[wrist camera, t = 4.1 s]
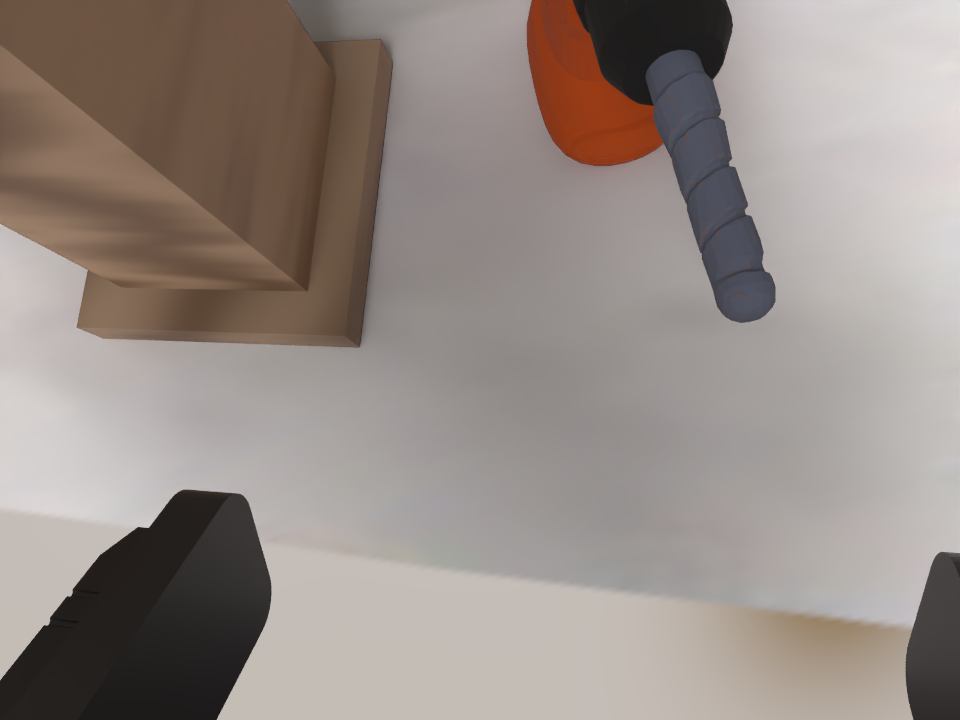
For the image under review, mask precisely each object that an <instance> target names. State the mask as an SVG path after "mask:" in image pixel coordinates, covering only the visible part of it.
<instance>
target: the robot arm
mask: <svg viewBox="0 0 960 720" xmlns="http://www.w3.org/2000/svg"><path fill="white" fill-rule="evenodd" d="M270 603H271V580H270V576H269V572H268V569H267V565H266V562H265V558H264V555H263V551H262V548H261V544H260V541H259V537H258V534H257V530H256V527H255V523H254V520H253V516H252V513H251V509H250V506H249V503H248V501H247V500H246V498H245V497H244V496H243V495H241V494H235V493H222V492H210V491H197V490H182V491H180V492H178V493H177V494H175V495H174V496H173V497H172V499H171V500H170V501H169V502H168V504H167V505H166V506H165V508H164V509H163V510H162V512H161V513H160V514H159V515H158V517H157V518H156V519H155V521H154V522H153V523H152V525H151V526H150V527H149V528H142V527H138V528H136V529H135V530H134V531H132V532H131V533H129V534H128V535H127V536H125V537H124V538H123V539H121V540H120V541H119V542H117V543H116V544H115V545H113V546H112V547H110V548H109V549H108V550H107V551H105V552H104V553H103V554H101V555H100V556H99V557H98V558H97V560H96V561H95V562H94V563H93V565H92V566H91V567H90V568H89V570H88V571H87V572H86V574H85V575H84V576H83V577H82V579H81V580H80V581H79V582H78V584H77V585H76V586H75V587H74V588H73V594H72V596H71V597H68V596H67V597H66V598H65V600H64V601H63V602H62V603H61V605H60V606H59V607H58V609H57V610H56V611H55V612H54V614H53V615H52V616H51V617H50V623H49V625H48V626H45V625H44V626H43V627H42V629H41V630H40V631H39V632H38V634H37V635H36V636H35V638H34V639H33V640H32V641H31V643H30V644H29V645H28V646H27V647H26V649H25V650H24V651H23V652H22V654H21V655H20V656H19V657H18V659H17V660H16V661H15V662H14V664H13V665H12V666H11V668H10V669H9V670H8V671H7V672H6V674H5V675H4V676H3V678H2V679H1V680H0V720H217V718H218V715H219V714H220V712H221V710H222V708H223V706H224V704H225V702H226V700H227V698H228V696H229V694H230V692H231V691H232V689H233V687H234V685H235V683H236V681H237V679H238V677H239V675H240V673H241V671H242V669H243V667H244V665H245V663H246V661H247V660H248V658H249V656H250V654H251V652H252V650H253V648H254V646H255V644H256V642H257V640H258V638H259V636H260V634H261V632H262V630H263V628H264V626H265V623H266V620H267V617H268V613H269V609H270ZM906 685H907V693H908V699H909V704H910V708H911V712H912V716H913V719H914V720H960V553H949V552H940V553H938V554H937V556H936V557H935V559H934V560H933V563H932V566H931V569H930V572H929V576H928V579H927V582H926V586H925V589H924V593H923V596H922V599H921V603H920V606H919V610H918V613H917V616H916V620H915V623H914V627H913V630H912V633H911V637H910V640H909V644H908V648H907V655H906Z"/></svg>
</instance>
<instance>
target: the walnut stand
mask: <svg viewBox="0 0 960 720" xmlns="http://www.w3.org/2000/svg"><path fill="white" fill-rule="evenodd" d="M392 67H393V63H392V61H391V59H390V57H389V55H388V53H387V51H386V49H385V47H384V45H383V43H382V41H381V39H374V40H351V41H329V42H313V41H312V39H311V38H310V36H309V35H308V33H307V31H306V30H305V28H304V27H303V25H302V24H301V22H300V20H299V19H298V17H297V16H296V14H295V13H294V11H293V9H292V8H291V6H290V5H289V3H288V2H287V0H0V224H2V225H4V226H5V227H7V228H9V229H11V230H13V231H15V232H17V233H19V234H21V235H23V236H24V237H26V238H28V239H30V240H32V241H34V242H36V243H38V244H40V245H42V246H44V247H45V248H47V249H49V250H51V251H53V252H55V253H57V254H59V255H61V256H63V257H65V258H66V259H68V260H70V261H72V262H74V263H76V264H78V265H80V266H82V267H84V268H85V269H87V270H88V272H87V277H86V282H85V288H84V293H83V298H82V303H81V308H80V313H79V318H78V323H77V328H79V329H82V330H84V331H87V332H89V333H91V334H94V335H96V336H99V337H101V338H108V339H136V340H165V341H194V342H222V343H251V344H280V345H308V346H337V347H360V339H361V331H362V322H363V314H364V305H365V297H366V288H367V279H368V271H369V262H370V254H371V245H372V237H373V228H374V220H375V211H376V203H377V194H378V186H379V177H380V169H381V160H382V152H383V143H384V135H385V126H386V118H387V109H388V101H389V92H390V84H391V75H392Z"/></svg>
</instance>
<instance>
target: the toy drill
mask: <svg viewBox="0 0 960 720" xmlns="http://www.w3.org/2000/svg"><path fill="white" fill-rule="evenodd" d="M732 27H733V24H732V16H731V13H730V10H729V7H728V5H727V2H726V0H532V2H531V7H530V12H529V17H528V22H527V47H528V55H529V63H530V68H531V73H532V78H533V83H534V88H535V92H536V96H537V100H538V104H539V107H540V110H541V113H542V116H543V119H544V122H545V125H546V127H547V129H548V131H549V133H550V135H551V137H552V140H553V141H554V142H555V143H556V145H557V146H558V147H559V148H560V149H561V150H562V151H563V152H564V153H565V154H566V155H567V156H568V157H570V158H572V159H574V160H576V161H578V162H580V163H583V164H588V165H593V166H611V165H616V164H622V163H627V162H630V161H633V160H635V159H638V158H641V157H643V156H645V155H647V154H649V153H651V152H652V151H654V150H656V149H657V148H658V147H659V146H660V145H661V144H663V143H664V145H665V147H666V148H667V150H668V152H669V154H670V156H671V158H672V162H673V167H674V171H675V174H676V177H677V181H678V184H679V187H680V191H681V193H682V195H683V197H684V200H685V202H686V204H687V211H688V215H689V218H690V221H691V225H692V228H693V231H694V235H695V238H696V241H697V244H698V247H699V250H700V252H701V253H702V260H703V263H704V266H705V268H706V271H707V274H708V277H709V280H710V282H711V285H712V288H713V291H714V295H715V300H716V303H717V307H718V308H719V310H720V311H721V313H722V314H723V315H724V316H725V317H727V318H728V319H730V320H732V321H736V322H741V323H743V322H751V321H754V320H758V319H760V318H762V317H763V316H765V315H766V314H767V313H768V312H769V310H770V309H771V308H772V307H773V305H774V303H775V284H774V282H773V279H772V277H771V275H770V273H767V272H765V271H764V268H763V265H762V258H763V248H762V244H761V240H760V237H759V235H758V232H757V229H756V227H755V224H754V222H753V219H752V217H751V216H748V215H746V214H745V209H746V208H747V207H748V203H747V200H746V197H745V194H744V192H743V189H742V186H741V183H740V180H739V177H738V174H737V171H736V168H735V167H731V166H729V161H730V160H731V159H732V156H731V151H730V146H729V141H728V136H727V131H726V126H725V122H724V121H723V120H722V119H720V118H719V117H718V116H719V115H720V112H721V108H720V105H719V101H718V98H717V94H716V90H715V87H714V83H713V81H712V80H713V79H714V77H715V76H716V75H717V74H718V72H719V70H720V68H721V66H722V65H723V62H724V58H725V55H726V51H727V48H728V44H729V41H730V37H731V33H732Z"/></svg>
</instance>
